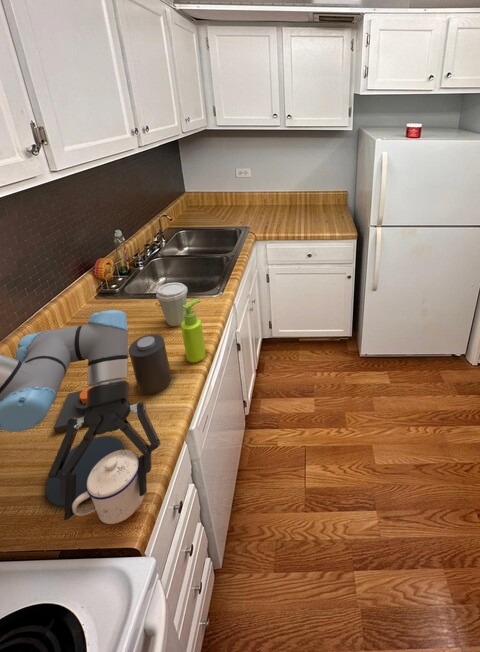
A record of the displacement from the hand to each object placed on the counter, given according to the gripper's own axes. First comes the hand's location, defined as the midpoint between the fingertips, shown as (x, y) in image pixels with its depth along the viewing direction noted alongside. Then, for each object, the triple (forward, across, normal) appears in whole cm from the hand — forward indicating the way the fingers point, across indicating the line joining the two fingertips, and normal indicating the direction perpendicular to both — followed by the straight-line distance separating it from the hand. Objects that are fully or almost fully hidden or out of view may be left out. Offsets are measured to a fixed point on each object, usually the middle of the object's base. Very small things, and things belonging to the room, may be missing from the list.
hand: (107, 505), depth 63 cm
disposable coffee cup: (-41, -9, -50) cm, 66 cm away
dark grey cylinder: (-21, -4, -29) cm, 36 cm away
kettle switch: (-21, +11, -24) cm, 33 cm away
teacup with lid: (+1, 0, -5) cm, 5 cm away
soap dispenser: (-27, -16, -35) cm, 47 cm away
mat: (-5, +8, -14) cm, 17 cm away
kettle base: (-18, +11, -27) cm, 34 cm away
